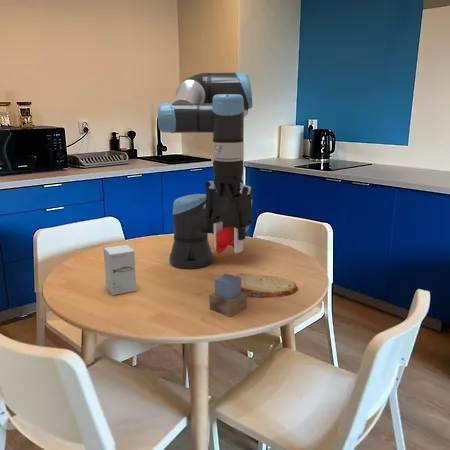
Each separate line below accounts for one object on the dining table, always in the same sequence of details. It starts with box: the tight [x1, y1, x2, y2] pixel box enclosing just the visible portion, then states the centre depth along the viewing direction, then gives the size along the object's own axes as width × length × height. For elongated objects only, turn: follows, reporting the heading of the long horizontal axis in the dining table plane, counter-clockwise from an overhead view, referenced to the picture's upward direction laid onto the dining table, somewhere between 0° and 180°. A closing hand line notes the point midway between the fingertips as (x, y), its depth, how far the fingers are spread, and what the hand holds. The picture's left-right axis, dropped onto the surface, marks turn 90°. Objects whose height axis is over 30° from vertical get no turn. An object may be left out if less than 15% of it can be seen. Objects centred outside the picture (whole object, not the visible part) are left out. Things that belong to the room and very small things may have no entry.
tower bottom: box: [209, 291, 248, 318], centre depth 121 cm, size 7×7×4 cm
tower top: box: [214, 273, 241, 300], centre depth 120 cm, size 5×5×4 cm
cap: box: [215, 226, 235, 254], centre depth 117 cm, size 8×6×6 cm
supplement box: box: [103, 244, 137, 296], centre depth 133 cm, size 7×7×13 cm
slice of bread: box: [235, 272, 299, 299], centre depth 135 cm, size 18×18×4 cm
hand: (228, 248), depth 118 cm, fingers closed on cap, 6 cm apart
